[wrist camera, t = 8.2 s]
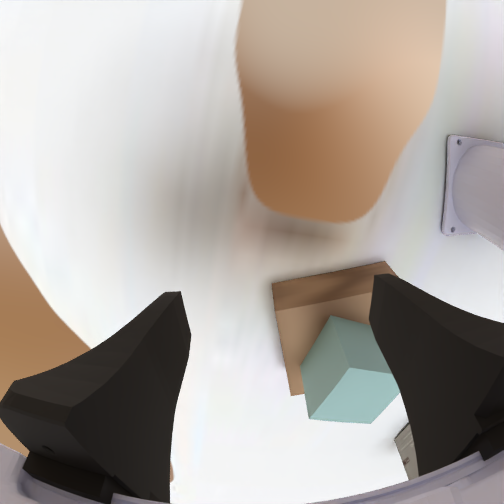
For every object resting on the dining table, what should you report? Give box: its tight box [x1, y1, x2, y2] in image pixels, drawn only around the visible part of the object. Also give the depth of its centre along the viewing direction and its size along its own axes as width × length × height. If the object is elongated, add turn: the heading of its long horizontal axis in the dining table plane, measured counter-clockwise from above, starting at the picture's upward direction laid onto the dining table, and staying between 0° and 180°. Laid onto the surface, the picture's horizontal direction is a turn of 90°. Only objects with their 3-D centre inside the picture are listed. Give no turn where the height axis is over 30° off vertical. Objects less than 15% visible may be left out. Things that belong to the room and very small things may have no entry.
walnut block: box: [272, 261, 399, 396], centre depth 22 cm, size 9×9×4 cm
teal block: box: [300, 315, 400, 424], centre depth 18 cm, size 5×5×5 cm
